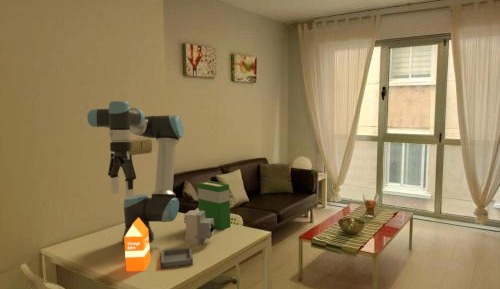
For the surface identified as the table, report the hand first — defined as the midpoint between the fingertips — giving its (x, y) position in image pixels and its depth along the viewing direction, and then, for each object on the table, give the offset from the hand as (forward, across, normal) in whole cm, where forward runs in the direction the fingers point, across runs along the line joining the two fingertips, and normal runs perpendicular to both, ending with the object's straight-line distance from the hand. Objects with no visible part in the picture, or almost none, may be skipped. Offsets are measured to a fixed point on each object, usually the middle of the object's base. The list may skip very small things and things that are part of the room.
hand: (122, 195), depth 143 cm
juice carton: (+32, -7, +9) cm, 34 cm away
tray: (+32, 0, +24) cm, 40 cm away
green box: (+29, -25, +64) cm, 74 cm away
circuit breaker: (+30, -9, +43) cm, 54 cm away
